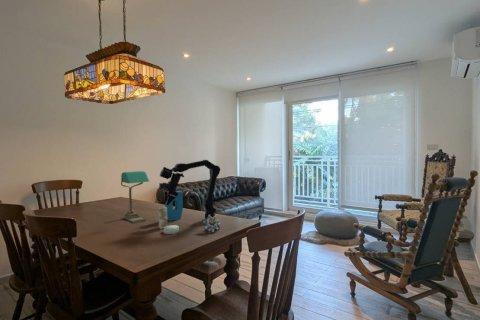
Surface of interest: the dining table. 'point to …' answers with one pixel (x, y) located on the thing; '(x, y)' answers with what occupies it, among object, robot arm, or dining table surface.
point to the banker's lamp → (130, 178)
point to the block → (177, 210)
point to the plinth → (171, 229)
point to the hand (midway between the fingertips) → (165, 203)
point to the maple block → (162, 217)
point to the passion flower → (211, 223)
